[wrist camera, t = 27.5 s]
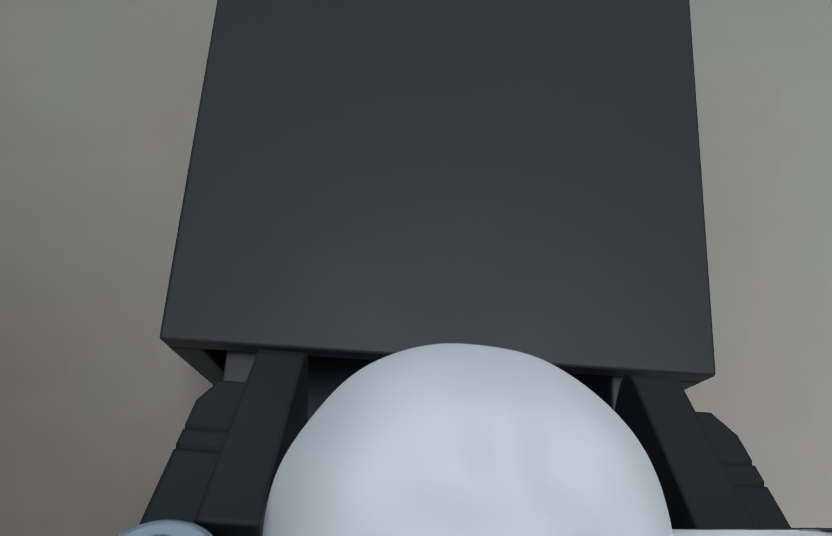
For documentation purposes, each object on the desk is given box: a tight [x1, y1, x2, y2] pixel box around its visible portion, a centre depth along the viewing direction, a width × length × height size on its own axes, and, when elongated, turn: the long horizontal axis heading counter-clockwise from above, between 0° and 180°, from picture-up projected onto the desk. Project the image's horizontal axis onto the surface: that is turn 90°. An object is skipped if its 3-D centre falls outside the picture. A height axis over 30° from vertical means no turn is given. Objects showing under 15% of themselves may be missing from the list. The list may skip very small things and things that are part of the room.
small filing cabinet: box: [160, 0, 715, 390], centre depth 24 cm, size 15×13×10 cm
